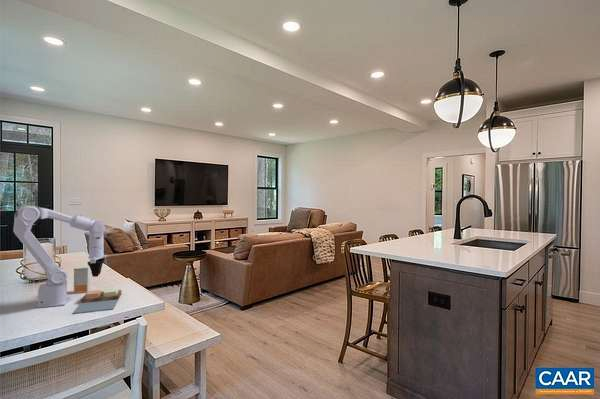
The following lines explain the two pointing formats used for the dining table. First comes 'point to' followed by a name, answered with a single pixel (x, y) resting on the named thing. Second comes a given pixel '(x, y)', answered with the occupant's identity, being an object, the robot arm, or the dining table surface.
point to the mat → (95, 306)
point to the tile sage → (110, 292)
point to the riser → (101, 297)
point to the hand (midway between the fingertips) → (96, 275)
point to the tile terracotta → (93, 293)
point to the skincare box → (82, 279)
